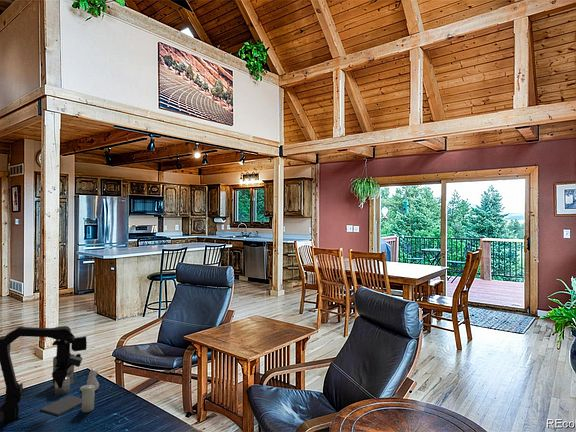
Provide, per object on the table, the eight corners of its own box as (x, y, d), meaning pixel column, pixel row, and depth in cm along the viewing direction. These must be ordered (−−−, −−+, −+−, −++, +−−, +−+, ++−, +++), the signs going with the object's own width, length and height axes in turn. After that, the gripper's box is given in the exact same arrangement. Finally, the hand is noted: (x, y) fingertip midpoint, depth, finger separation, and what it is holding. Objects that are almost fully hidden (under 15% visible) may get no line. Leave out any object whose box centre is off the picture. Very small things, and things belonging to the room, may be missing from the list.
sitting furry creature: (78, 390, 204) (79, 369, 204) (94, 385, 211) (95, 364, 211) (86, 395, 198) (87, 373, 199) (102, 390, 205) (103, 368, 206)
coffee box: (74, 381, 216) (75, 354, 216) (66, 386, 209) (67, 358, 210) (59, 381, 216) (60, 353, 217) (51, 385, 210) (52, 357, 211)
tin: (60, 396, 197) (61, 381, 197) (51, 394, 200) (52, 379, 200) (72, 391, 204) (73, 376, 204) (63, 388, 206) (64, 374, 206)
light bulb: (86, 413, 180) (87, 390, 180) (78, 410, 182) (79, 388, 182) (96, 408, 185) (97, 386, 186) (88, 405, 187) (89, 384, 188)
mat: (58, 415, 177) (58, 414, 177) (40, 410, 182) (40, 408, 182) (87, 401, 192) (87, 399, 192) (69, 396, 197) (69, 395, 197)
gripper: (79, 356, 178) (78, 389, 177) (83, 345, 195) (82, 374, 194) (52, 359, 173) (51, 393, 173) (59, 347, 190) (58, 377, 190)
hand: (62, 384), depth 182 cm, fingers open, 9 cm apart
